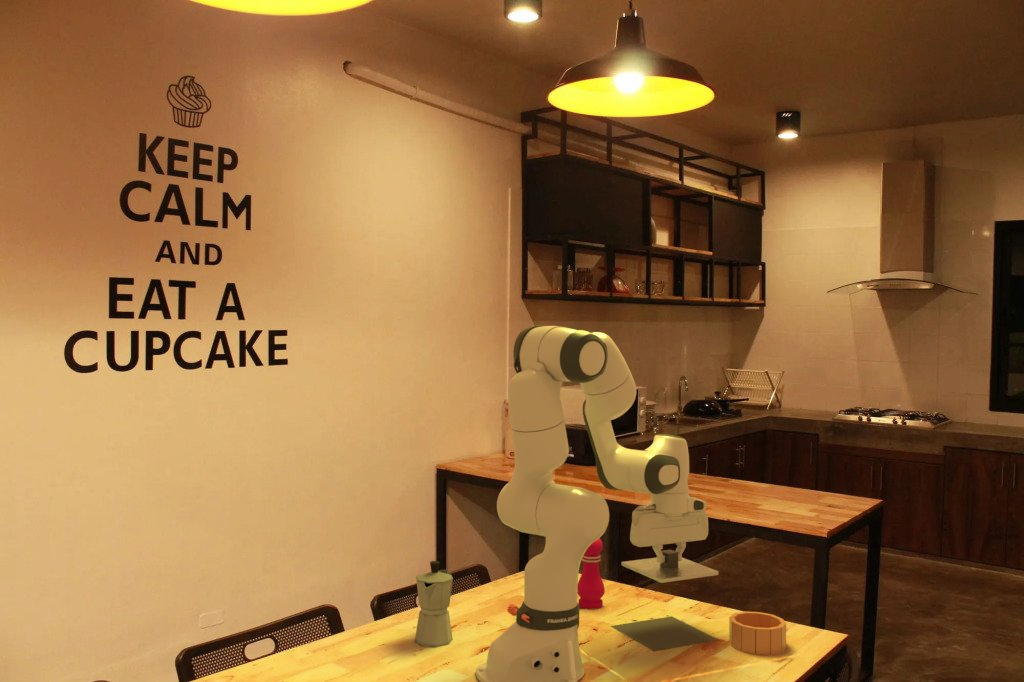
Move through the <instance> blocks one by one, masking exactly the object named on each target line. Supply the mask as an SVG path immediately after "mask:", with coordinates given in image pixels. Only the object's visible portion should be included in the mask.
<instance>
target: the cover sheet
mask: <svg viewBox="0 0 1024 682" xmlns="http://www.w3.org/2000/svg"><path fill="white" fill-rule="evenodd" d="M661 551H662V554H663V555H665V556H666V563H662V564H660V563H658V562H657V557H651V558H642V559H635V560H628V561H627V560H626V561H621V566H623V567H624V568H626V569H628V570H632V571H633V572H635V573H637V574H641V575H643V576H644V577H647V578H650V579H652V580H654V581H656V582H658V583H661V584H663V583H670V582H677V581H684V580H691V579H697V578H705V577H714V576H719V570H717V569H714V568H710V567H708V566H705V565H703V564H700V563H697V562H694V561H693V560H690V559H687V558H685V557H682V560H681V561H678V552H676V550H674V549H673V550H672V549H664V550H663V549H662V550H661Z"/></svg>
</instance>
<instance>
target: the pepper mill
mask: <svg viewBox="0 0 1024 682" xmlns="http://www.w3.org/2000/svg"><path fill="white" fill-rule="evenodd" d="M603 547H604V545H603V541H602V539H601V537H600V538H599V539H598V540H596V541H595V542H593V543H592V544H591V545H590V546H589V547H588V549H587V550H586V552H585V553H584V555H583V557H582V560H581V562H583V563H582V572H581V575H580V578H578V590H577V596H579V597H580V598H578V604H579V609H581V610H585V609H587V610H597V609H601V608H603V605H604V603H603V602H604V601H603V599H602V597H604V595H605V592H606V591H605V584H604V581H603V579H602V577H601V574H600V567H599V565H600V561H601V560H602V559H601V557H602V555H601V552H602V551H603Z"/></svg>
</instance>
